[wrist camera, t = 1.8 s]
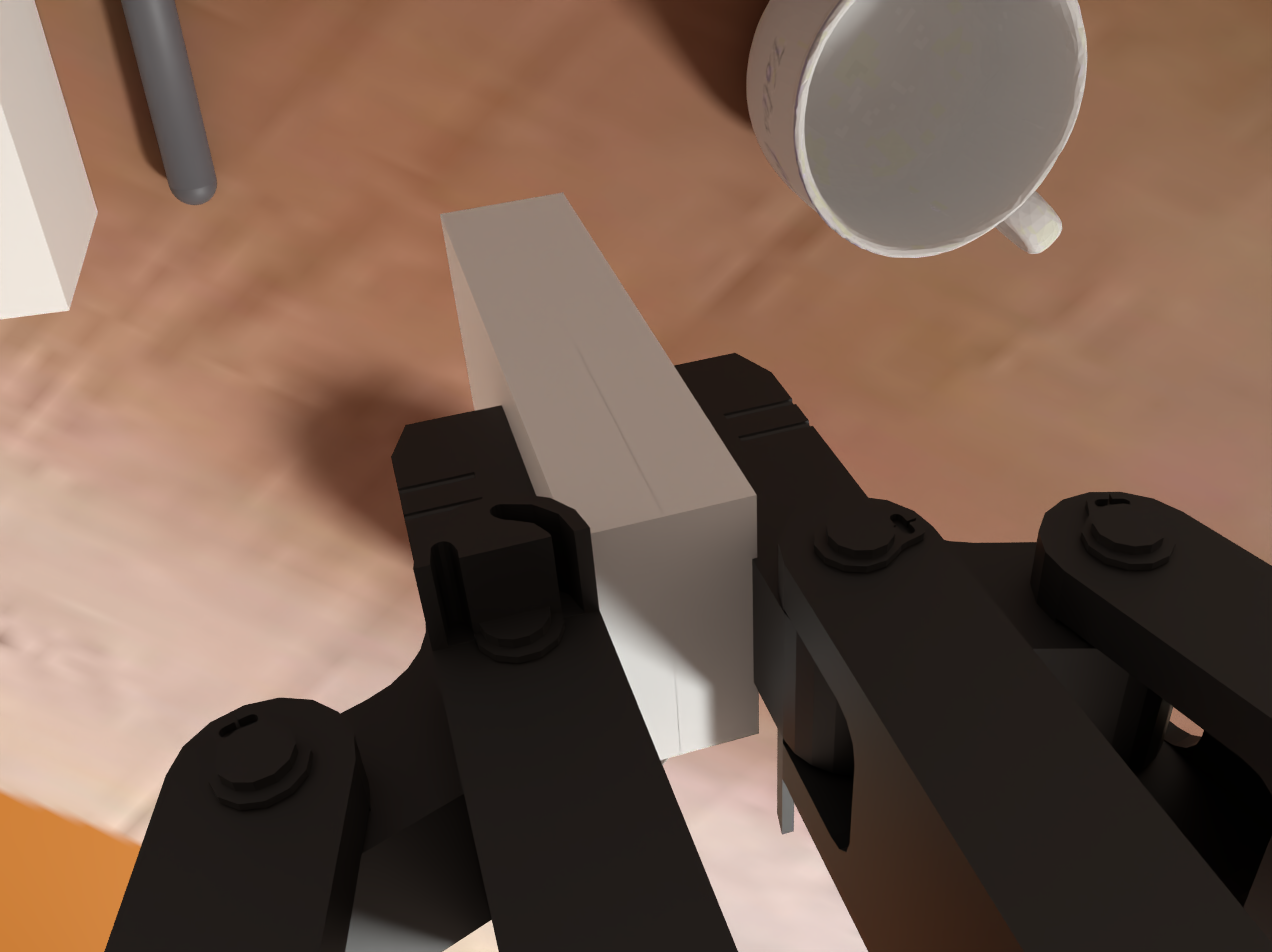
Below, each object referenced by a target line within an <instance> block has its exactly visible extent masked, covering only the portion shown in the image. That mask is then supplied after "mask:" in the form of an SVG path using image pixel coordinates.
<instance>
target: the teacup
mask: <svg viewBox="0 0 1272 952" xmlns="http://www.w3.org/2000/svg"><path fill="white" fill-rule="evenodd" d="M1086 69H1087V44H1086V35H1085V29H1084V25H1083V20H1082V16H1081V11H1080V7H1079V4H1078V2H1077V0H770V1H769V3H768V5H767V7H766V8H765V10H764V12H763V14H762V16H761V18H760V21H759V23H758V25H757V28H756V31H755V34H754V38H753V42H752V46H751V50H750V53H749V60H748V68H747V89H746V92H747V103H748V110H749V115H750V119H751V123H752V127H753V130H754V133H755V135H756V138H757V141H758V143H759V145H760V147H761V149H762V151H763V153H764V155H765V157H766V159H767V160H768V162H769V163H770V165H771V166H772V167H773V169H774V170H775V172H776V173H777V174H778V175H779V176H780V178H781V179H782V180H783V181H784V182H785V183H786V184H787V185H788V186H789V188H790V189H791V190H792V191H794V192H795V193H796V194H797V195H798V196H799V197H800V198H801V199H802V200H803V201H804V202H805V203H807V204H808V205H809V206H810V207H811V208H812V209H814V210H815V211H816V212H817V213H818V214H819V215H820V217H821V218H822V219H823V220H824V221H825V222H826V224H827V225H828V226H829V227H830V228H832V229H833V230H835V231H836V232H837V233H838V234H839V235H840V236H842V237H843V238H845V239H846V240H848V241H849V242H851V243H852V244H854V245H856V246H858V247H860V248H862V249H866V250H868V251H870V252H872V253H875V254H879V255H884V256H888V257H905V258H919V257H927V256H933V255H938V254H940V253H943V252H948V251H951V250H954V249H956V248H958V247H961V246H963V245H965V244H967V243H969V242H971V241H973V240H975V239H977V238H978V237H980V236H982V235H983V234H985V233H986V232H988V231H990V230H991V229H993V228H994V227H996V228H997V229H998V230H999V231H1000V232H1001V233H1002V234H1003V235H1004V236H1006V237H1007V238H1008V239H1009V240H1010V241H1012V242H1013V243H1014V244H1015V245H1017V246H1018V247H1019V248H1020V249H1022V250H1024V251H1026V252H1028V253H1030V254H1037V253H1041V252H1042V251H1044V250H1045V249H1047V248H1048V247H1049V246H1050V245H1051V244H1052V243H1053V242H1054V241H1055V240H1056V239H1057V237H1058V236H1059V235H1060V233H1061V230H1062V222H1061V220H1060V218H1059V217H1058V215H1057V214H1056V213H1055V211H1054V210H1053V209H1052V207H1051V206H1050V205H1049V204H1048V203H1047V202H1046V201H1045V200H1044V199H1043V198H1042V197H1041V196H1040V195H1039V194H1038V193H1037V192H1036V191H1035V190H1036V189H1037V188H1038V187H1039V186H1040V184H1041V183H1042V182H1043V180H1044V179H1045V177H1046V176H1047V174H1048V173H1049V171H1050V170H1051V168H1052V167H1053V165H1054V163H1055V161H1056V159H1057V157H1058V156H1059V154H1060V153H1061V151H1062V150H1063V148H1064V146H1065V144H1066V142H1067V140H1068V138H1069V136H1070V134H1071V132H1072V130H1073V127H1074V124H1075V122H1076V119H1077V116H1078V113H1079V109H1080V105H1081V101H1082V97H1083V93H1084V87H1085V80H1086Z"/></svg>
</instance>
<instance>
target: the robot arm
mask: <svg viewBox="0 0 1272 952" xmlns="http://www.w3.org/2000/svg"><path fill="white" fill-rule="evenodd" d="M440 216H441V222H442V227H443V233H444V239H445V245H446V250H447V256H448V262H449V268H450V273H451V279H452V285H453V290H454V296H455V302H456V308H457V313H458V319H459V325H460V331H461V336H462V342H463V348H464V354H465V359H466V365H467V371H468V376H469V382H470V388H471V394H472V399H473V405H474V409H475V411H471V412H466V413H462V414H457V415H452V416H447V417H442V418H438V419H433V420H428V421H423V422H418V423H414V424H409V425H406V426H405V428H404V430H403V432H402V434H401V437H400V439H399V441H398V443H397V445H396V448H395V450H394V452H393V454H392V456H391V458H392V463H393V468H394V472H395V477H396V482H397V486H398V491H399V495H400V500H401V505H402V509H403V514H404V518H405V523H406V528H407V532H408V537H409V542H410V546H411V551H412V555H413V560H414V567H413V570H414V574H415V578H416V582H417V587H418V591H419V595H420V600H421V604H422V608H423V613H424V617H425V621H426V634H425V637H424V640H423V643H422V646H421V649H420V651H419V653H418V654H417V656H416V657H415V659H414V660H413V662H412V663H411V665H410V666H409V668H408V669H407V670H406V671H405V672H404V673H402V674H401V675H400V676H399V677H398V678H397V679H396V680H395V681H394V682H393V683H392V684H391V685H389V686H388V687H386V688H385V689H383V690H382V691H380V692H378V693H377V694H375V695H374V696H372V697H371V698H369V699H367V700H365V701H364V702H362V703H360V704H358V705H356V706H354V707H352V708H350V709H348V710H346V711H344V712H343V713H341V714H340V713H339V712H337V711H335V710H333V709H331V708H329V707H327V706H325V705H322V704H320V703H318V702H316V701H314V700H307V699H293V698H276V699H271V700H266V701H262V702H257V703H253V704H248V705H244V706H242V707H240V708H238V709H236V710H234V711H232V712H230V713H228V714H226V715H224V716H222V717H220V718H218V719H216V720H214V721H212V722H210V723H209V724H208V725H207V726H206V727H205V728H203V729H202V730H201V731H200V732H199V733H198V734H197V735H195V736H194V737H193V738H192V739H191V740H190V741H189V742H188V743H186V744H185V745H184V746H183V747H182V749H181V751H180V752H179V754H178V756H177V757H176V759H175V761H174V763H173V764H172V766H171V768H170V769H169V771H168V773H167V774H166V777H165V780H164V783H163V785H162V788H161V791H160V794H159V797H158V800H157V803H156V805H155V808H154V811H153V814H152V817H151V820H150V823H149V825H148V828H147V831H146V834H145V837H144V840H143V843H142V846H141V848H140V851H139V854H138V857H137V860H136V863H135V866H134V869H133V871H132V874H131V877H130V880H129V883H128V886H127V889H126V891H125V894H124V897H123V900H122V903H121V906H120V909H119V911H118V914H117V917H116V920H115V923H114V926H113V929H112V931H111V934H110V937H109V940H108V943H107V946H106V949H105V951H104V952H442V951H444V950H446V949H447V948H449V947H450V946H452V945H453V944H455V943H456V942H458V941H459V940H461V939H463V938H464V937H466V936H467V935H469V934H470V933H472V932H473V931H475V930H476V929H478V928H479V927H481V926H483V925H484V924H486V923H487V922H489V921H490V920H492V923H493V927H494V932H495V936H496V941H497V945H498V950H499V952H738V951H737V948H736V946H735V943H734V941H733V938H732V936H731V933H730V931H729V928H728V926H727V923H726V921H725V918H724V916H723V914H722V911H721V909H720V906H719V904H718V901H717V899H716V896H715V894H714V891H713V889H712V886H711V884H710V881H709V879H708V877H707V874H706V872H705V869H704V867H703V864H702V862H701V859H700V857H699V854H698V852H697V849H696V847H695V844H694V842H693V840H692V837H691V835H690V832H689V830H688V827H687V825H686V822H685V820H684V817H683V815H682V812H681V810H680V807H679V805H678V803H677V800H676V798H675V795H674V793H673V790H672V788H671V785H670V783H669V780H668V778H667V775H666V773H665V770H664V768H663V765H662V763H661V761H660V760H663V759H667V758H671V757H674V756H678V755H681V754H685V753H689V752H692V751H696V750H700V749H703V748H707V747H711V746H714V745H718V744H722V743H725V742H729V741H733V740H736V739H740V738H744V737H747V736H751V735H755V734H758V733H759V693H760V695H761V697H762V699H763V701H764V703H765V705H766V707H767V709H768V710H769V712H770V714H771V716H772V718H773V720H774V722H775V724H776V726H777V728H778V761H777V814H778V819H779V823H780V828H781V832H782V834H785V833H789V832H792V831H794V803H795V805H796V807H797V809H798V811H799V813H800V815H801V817H802V819H803V821H804V823H805V825H806V827H807V829H808V831H809V833H810V835H811V837H812V839H813V841H814V843H815V845H816V847H817V849H818V851H819V853H820V855H821V857H822V859H823V861H824V863H825V865H826V867H827V869H828V871H829V873H830V875H831V877H832V879H833V881H834V883H835V886H836V888H837V890H838V892H839V894H840V896H841V898H842V900H843V902H844V904H845V906H846V908H847V910H848V912H849V914H850V916H851V918H852V920H853V922H854V924H855V926H856V928H857V930H858V932H859V934H860V936H861V938H862V940H863V942H864V944H865V946H866V948H867V950H868V952H1272V566H1271V565H1269V564H1268V563H1266V562H1264V561H1263V560H1261V559H1259V558H1258V557H1256V556H1254V555H1253V554H1251V553H1250V552H1248V551H1246V550H1245V549H1243V548H1241V547H1240V546H1238V545H1236V544H1235V543H1233V542H1231V541H1230V540H1228V539H1227V538H1225V537H1223V536H1222V535H1220V534H1218V533H1217V532H1215V531H1213V530H1212V529H1210V528H1208V527H1207V526H1205V525H1203V524H1202V523H1200V522H1199V521H1197V520H1195V519H1194V518H1192V517H1190V516H1189V515H1187V514H1185V513H1184V512H1182V511H1180V510H1177V509H1175V508H1173V507H1171V506H1169V505H1166V504H1164V503H1162V502H1160V501H1157V500H1155V499H1152V498H1148V497H1143V496H1138V495H1133V494H1128V493H1123V492H1089V493H1085V494H1081V495H1078V496H1074V497H1071V498H1067V499H1064V500H1062V501H1060V502H1059V503H1058V504H1057V505H1055V506H1054V507H1053V508H1051V509H1050V510H1049V511H1047V512H1046V513H1045V515H1044V518H1043V521H1042V523H1041V526H1040V529H1039V533H1038V539H1037V542H1020V543H968V542H952V541H946V540H944V539H943V538H942V537H941V536H940V534H939V533H938V532H937V531H936V530H935V528H934V527H933V526H932V525H930V524H929V523H928V522H927V521H926V520H924V519H923V518H922V517H921V516H919V515H918V514H917V513H916V512H915V511H913V510H910V509H908V508H905V507H903V506H900V505H898V504H895V503H893V502H890V501H888V500H881V499H874V498H868V497H867V496H866V494H865V493H864V492H863V490H862V489H861V488H860V487H859V485H858V484H857V483H856V481H855V480H854V479H853V477H852V476H851V475H850V474H849V472H848V471H847V470H846V468H845V467H844V466H843V464H842V463H841V462H840V461H839V459H838V458H837V457H836V455H835V454H834V453H833V451H832V450H831V449H830V448H829V446H828V445H827V444H826V442H825V441H824V440H823V439H822V437H821V436H820V435H819V433H818V432H817V431H816V429H815V428H814V427H813V426H809V420H808V419H807V418H806V416H805V415H804V414H803V413H802V411H801V410H800V409H799V407H798V406H797V405H796V404H794V405H793V403H792V398H791V397H790V396H789V394H788V393H787V392H786V391H785V389H784V388H783V387H782V385H781V384H780V383H779V381H778V380H777V379H776V378H775V376H774V375H773V374H772V372H770V371H768V370H766V369H764V368H762V367H761V366H759V365H757V364H755V363H753V362H751V361H749V360H748V359H746V358H744V357H742V356H740V355H738V354H736V353H732V354H728V355H723V356H718V357H713V358H708V359H704V360H699V361H694V362H689V363H684V364H680V365H675V366H674V365H673V364H672V362H671V361H670V359H669V357H668V356H667V354H666V353H665V351H664V350H663V348H662V347H661V345H660V343H659V342H658V340H657V339H656V337H655V336H654V334H653V332H652V331H651V329H650V328H649V326H648V325H647V323H646V322H645V320H644V318H643V317H642V315H641V314H640V312H639V311H638V309H637V308H636V306H635V304H634V303H633V301H632V300H631V298H630V297H629V295H628V293H627V292H626V290H625V289H624V287H623V286H622V284H621V283H620V281H619V279H618V278H617V276H616V275H615V273H614V272H613V270H612V269H611V267H610V265H609V264H608V262H607V261H606V259H605V258H604V256H603V254H602V253H601V251H600V250H599V248H598V247H597V245H596V244H595V242H594V240H593V239H592V237H591V236H590V234H589V233H588V231H587V230H586V228H585V226H584V225H583V223H582V222H581V220H580V219H579V217H578V216H577V214H576V212H575V211H574V209H573V208H572V206H571V205H570V203H569V201H568V200H567V198H566V197H565V195H564V194H563V193H558V194H552V195H546V196H541V197H535V198H529V199H524V200H518V201H512V202H507V203H501V204H495V205H490V206H484V207H478V208H472V209H467V210H461V211H455V212H450V213H444V214H440ZM758 691H759V693H758ZM1173 707H1174V708H1176V709H1177V710H1178V711H1180V712H1181V713H1182V714H1184V715H1185V716H1186V717H1188V718H1189V719H1190V720H1192V721H1193V722H1194V723H1196V724H1197V725H1198V726H1200V727H1201V728H1202V729H1203V730H1204V732H1203V735H1202V737H1200V736H1194V735H1190V734H1189V733H1187V732H1185V731H1183V730H1182V729H1180V728H1178V727H1177V726H1175V725H1174V724H1173V723H1172V722H1170V721H1169V720H1170V716H1171V713H1172V709H1173Z"/></svg>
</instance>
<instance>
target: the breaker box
mask: <svg viewBox="0 0 1272 952" xmlns="http://www.w3.org/2000/svg"><path fill="white" fill-rule="evenodd" d="M121 3H122V7H123V11H124V14H125V18H126V22H127V26H128V30H129V34H130V38H131V41H132V45H133V49H134V53H135V57H136V61H137V64H138V68H139V72H140V76H141V80H142V84H143V88H144V91H145V95H146V99H147V103H148V107H149V111H150V115H151V118H152V122H153V126H154V130H155V134H156V138H157V141H158V145H159V149H160V153H161V157H162V161H163V165H164V168H165V172H166V176H167V180H168V184H169V187H170V190H171V191H172V193H173V194H174V196H175V197H176V198H177V199H179V200H180V201H182V202H184V203H186V204H190V205H200V204H203V203H205V202H207V201H209V200H210V199H211V198H212V197H213V195H214V193H215V191H216V188H217V180H216V175H215V170H214V166H213V162H212V158H211V153H210V149H209V145H208V141H207V136H206V132H205V128H204V124H203V119H202V115H201V111H200V107H199V102H198V98H197V94H196V90H195V85H194V81H193V77H192V73H191V68H190V64H189V60H188V56H187V51H186V47H185V43H184V39H183V34H182V30H181V26H180V22H179V17H178V13H177V9H176V5H175V0H121ZM97 213H98V212H97V208H96V205H95V202H94V198H93V195H92V191H91V188H90V185H89V181H88V178H87V175H86V171H85V168H84V165H83V161H82V158H81V155H80V151H79V148H78V145H77V141H76V138H75V135H74V131H73V128H72V125H71V121H70V118H69V115H68V111H67V108H66V105H65V101H64V98H63V95H62V91H61V88H60V85H59V81H58V78H57V75H56V71H55V68H54V65H53V61H52V58H51V55H50V51H49V48H48V45H47V41H46V38H45V35H44V31H43V28H42V24H41V21H40V18H39V14H38V11H37V8H36V4H35V1H34V0H0V319H7V318H15V317H22V316H30V315H38V314H45V313H53V312H61V311H68V310H69V309H70V306H71V302H72V299H73V295H74V292H75V289H76V285H77V282H78V278H79V275H80V272H81V268H82V265H83V261H84V258H85V254H86V251H87V248H88V244H89V241H90V237H91V234H92V231H93V227H94V224H95V220H96V217H97Z"/></svg>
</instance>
